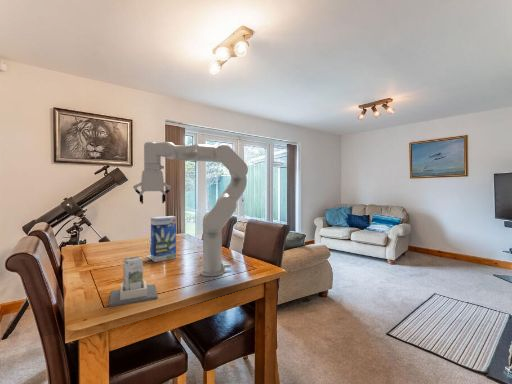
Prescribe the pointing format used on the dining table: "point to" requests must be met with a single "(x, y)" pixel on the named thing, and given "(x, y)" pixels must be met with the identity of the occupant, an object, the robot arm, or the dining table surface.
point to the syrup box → (133, 273)
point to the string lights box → (163, 238)
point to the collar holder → (132, 295)
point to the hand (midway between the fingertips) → (152, 203)
